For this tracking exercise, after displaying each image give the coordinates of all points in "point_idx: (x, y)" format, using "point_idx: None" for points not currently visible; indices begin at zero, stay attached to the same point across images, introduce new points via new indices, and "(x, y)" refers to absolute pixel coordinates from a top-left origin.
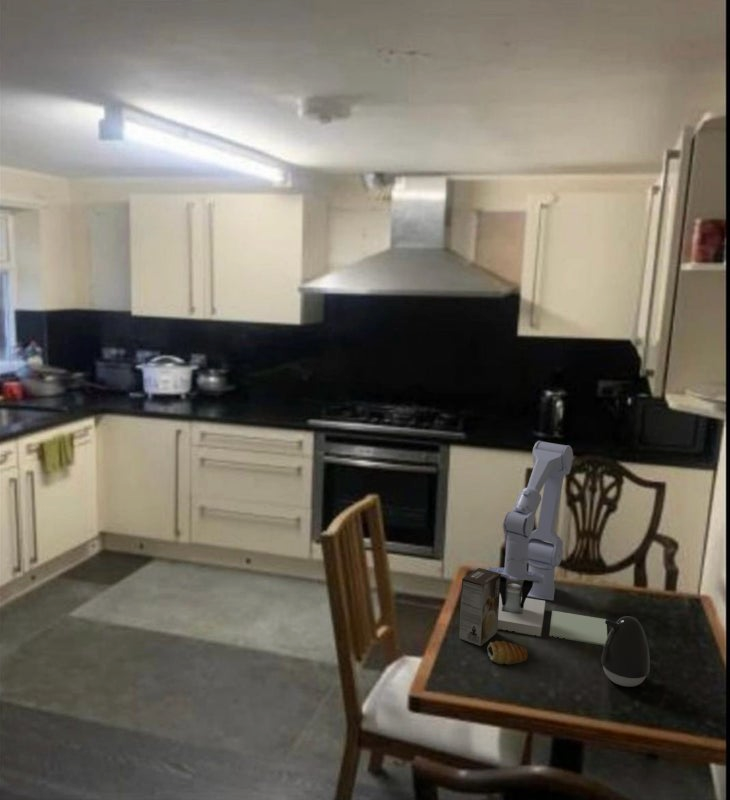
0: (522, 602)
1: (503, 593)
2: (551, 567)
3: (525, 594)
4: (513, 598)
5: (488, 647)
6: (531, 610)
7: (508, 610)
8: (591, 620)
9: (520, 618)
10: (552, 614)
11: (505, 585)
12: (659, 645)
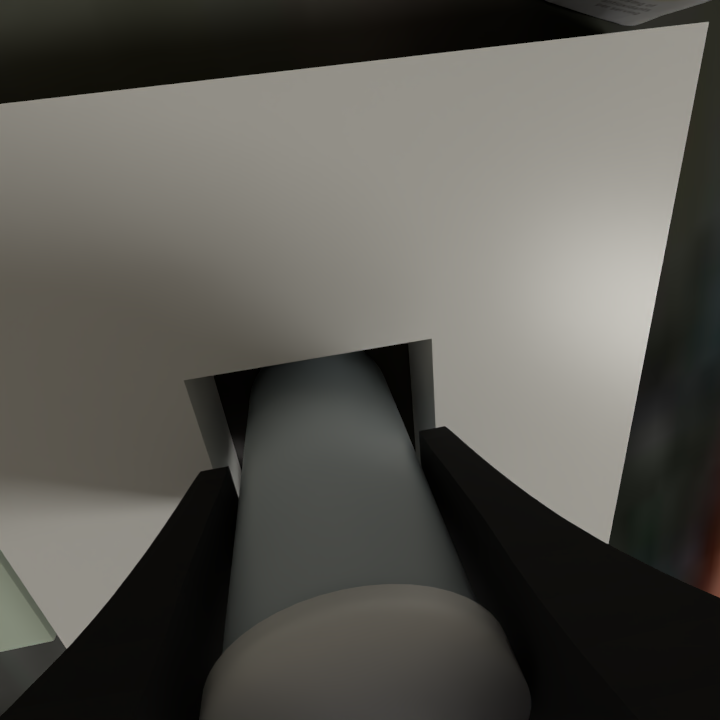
0: (188, 520)
1: (510, 530)
2: None
3: (85, 660)
4: (320, 508)
5: None
6: (132, 515)
7: (357, 390)
8: None
9: (156, 267)
10: (15, 595)
11: (545, 713)
12: None
